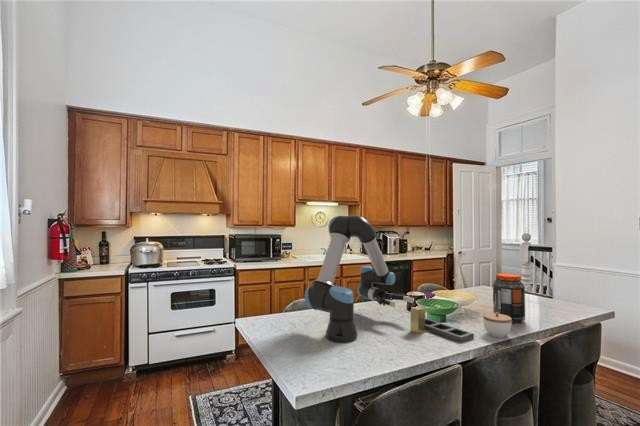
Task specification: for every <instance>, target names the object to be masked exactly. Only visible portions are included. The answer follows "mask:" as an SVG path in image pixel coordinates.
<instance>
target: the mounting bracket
mask: <svg viewBox="0 0 640 426" xmlns="http://www.w3.org/2000/svg"><path fill="white" fill-rule="evenodd" d="M421 293H424V294H426V298H432V297H434V296H436V294H435V293H434V292H429V291H427V290H426V291H425V290H423V291H422V292H421Z"/></svg>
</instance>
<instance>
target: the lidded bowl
mask: <svg viewBox="0 0 640 426" xmlns="http://www.w3.org/2000/svg"><path fill="white" fill-rule="evenodd" d="M482 318H483V319H482V320H483V327H484V329H485V330H486V331H487V333H488V334H489V335H490V336H492V337H495V338H506V336H508V335H509V334H510V332H511V331H512V325H513V323H512V318H511V317H509V316H507V315H503V314H498V312H496V313H493V312H487V313H483V314H482Z"/></svg>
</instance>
